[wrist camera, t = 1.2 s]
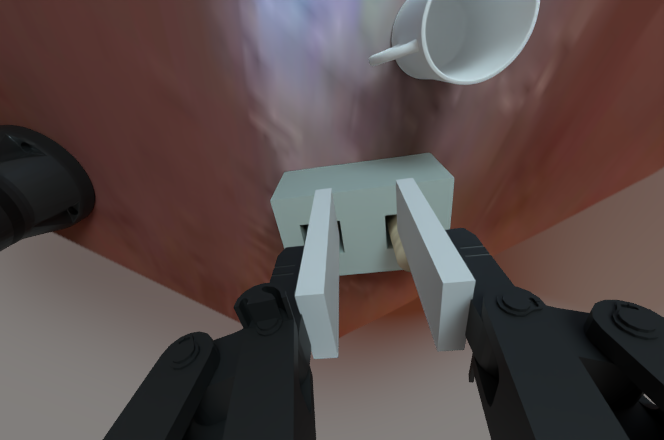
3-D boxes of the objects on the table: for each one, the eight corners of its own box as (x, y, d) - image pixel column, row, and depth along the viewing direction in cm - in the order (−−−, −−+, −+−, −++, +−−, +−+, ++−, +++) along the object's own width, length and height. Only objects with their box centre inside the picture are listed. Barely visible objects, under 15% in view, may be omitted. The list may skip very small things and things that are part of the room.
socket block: (301, 241, 44) (293, 279, 36) (284, 172, 38) (270, 200, 30) (427, 227, 42) (446, 265, 34) (429, 152, 36) (454, 177, 28)
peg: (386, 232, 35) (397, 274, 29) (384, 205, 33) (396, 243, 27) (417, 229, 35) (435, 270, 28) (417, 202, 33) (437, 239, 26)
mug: (369, 94, 33) (382, 110, 22) (355, 8, 28) (363, -21, 18) (470, 68, 31) (536, 72, 21) (472, -28, 27) (554, -84, 16)
